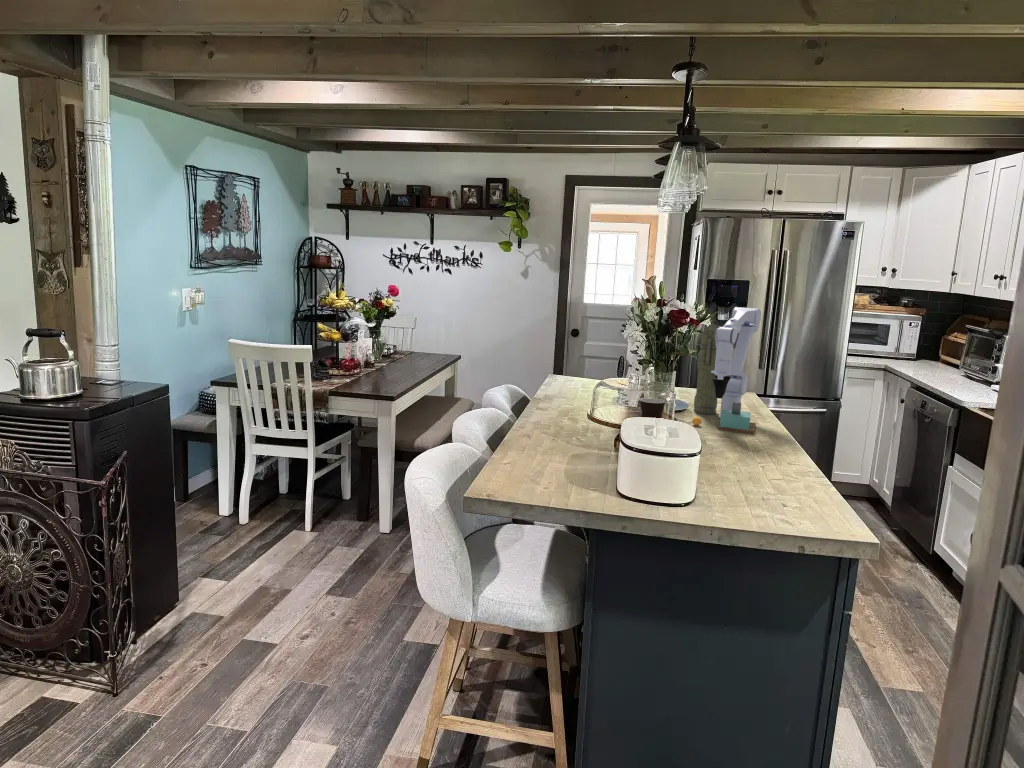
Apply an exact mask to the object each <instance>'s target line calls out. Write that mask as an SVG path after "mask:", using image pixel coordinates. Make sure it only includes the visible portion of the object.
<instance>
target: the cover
mask: <svg viewBox="0 0 1024 768" xmlns="http://www.w3.org/2000/svg"><path fill="white" fill-rule="evenodd" d="M751 414H752V413H751V412H749V411H742V402H741V403H740V402H733V404H732V410H722V413H721V418H720V420H719V425H720V427H726V428H735V429H745V430H749V426H750V423H751Z"/></svg>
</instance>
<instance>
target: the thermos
mask: <svg viewBox="0 0 1024 768" xmlns="http://www.w3.org/2000/svg"><path fill="white" fill-rule="evenodd" d="M720 327H721V326H720V325H718V324H712V323H711V324H709V326H708V327H707V328H706V329H705V330H704V331H701V336H700V347H699V348H700V349H699V352H698V355H697V364H696V365H697V368H696V369H697V380H696V381H697V382H696V393H695V396H694V400H693V407H694V408H693V412H694V413H696V414H700V415H715V414H716V413H717V407H718V398H716V393H715V386H714V383H713V378H715V376H717V375H716V374H714V373H711V371H715V360H716V350H717V347H716V340H715V335H716V330H717V329H718V328H720Z"/></svg>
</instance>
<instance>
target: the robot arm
mask: <svg viewBox="0 0 1024 768" xmlns="http://www.w3.org/2000/svg"><path fill="white" fill-rule="evenodd" d="M761 318H762V311H761V308H760V307H757V308H756V307H755V308H753V307H738V306H735V307H734V308H733V309H732V313H731V318H730V319H728V320H727V321H726V322H725V324H724V325H723V326H720V328H718V329H717V330H716V335H715V340H716V347H717V350H716V360H715V371H711V373H714V374H716V375H717V376H715V378H713V383H714V386H715V393H716V398H717V399H721V402H720V413H719V414H718V416H717V417H718V418H720V419H721V413H722V410H732V404H733V402H740V403H741V404H742V396H744V395H745V394H746V393H747V390H748V383H749V382H748V381H749V378H748V376H747V374H745V373H744V367H745V364H746V359H747V354H748V352H749V347H750V343H751V340H752V337H753V334H755V333H756V332H758V329H759V328H760V325H761V324H760V323H761V320H762V319H761ZM734 345H735V348H734ZM733 352H734V353H733Z"/></svg>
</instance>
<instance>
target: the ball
mask: <svg viewBox="0 0 1024 768" xmlns="http://www.w3.org/2000/svg"><path fill="white" fill-rule="evenodd" d="M691 422H692V424H693V425H694V426H696V427H697V426H700V425H701V424H702V419H701V418H700V417H699V416H694V417H693V418H692V420H691Z"/></svg>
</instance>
